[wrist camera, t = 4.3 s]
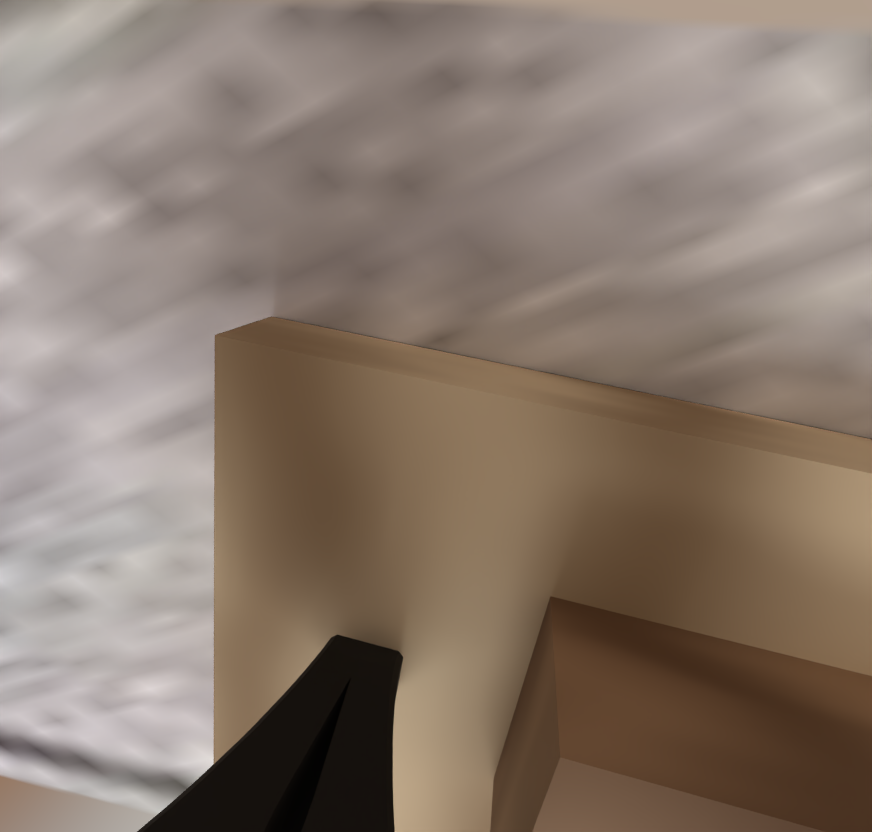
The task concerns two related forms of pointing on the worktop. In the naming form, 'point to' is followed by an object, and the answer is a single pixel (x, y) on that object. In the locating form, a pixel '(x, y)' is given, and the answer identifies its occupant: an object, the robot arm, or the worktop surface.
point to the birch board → (502, 534)
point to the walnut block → (680, 734)
